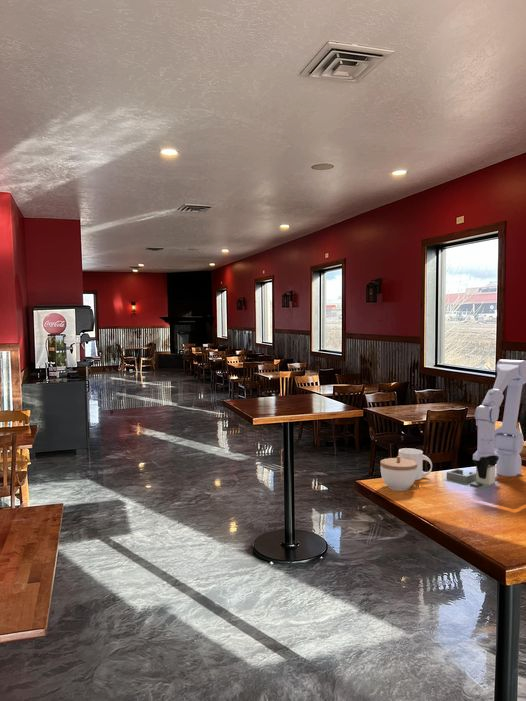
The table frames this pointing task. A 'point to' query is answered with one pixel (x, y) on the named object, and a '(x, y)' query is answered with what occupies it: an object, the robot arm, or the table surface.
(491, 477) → the plug
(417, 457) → the mug
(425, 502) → the table surface
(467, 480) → the board
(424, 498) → the table surface
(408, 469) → the lidded bowl
